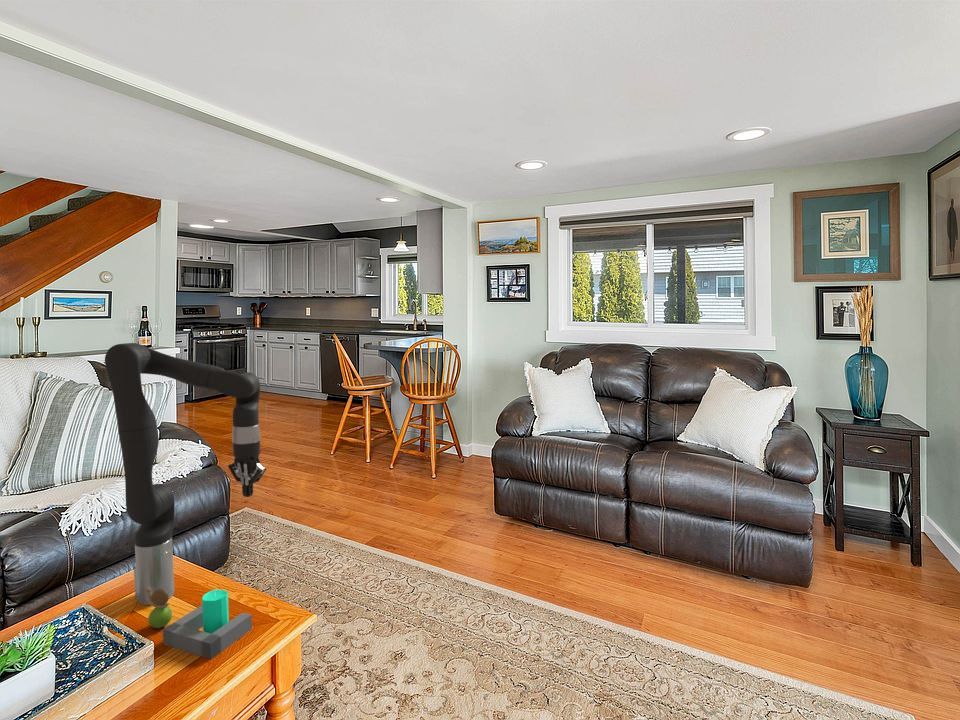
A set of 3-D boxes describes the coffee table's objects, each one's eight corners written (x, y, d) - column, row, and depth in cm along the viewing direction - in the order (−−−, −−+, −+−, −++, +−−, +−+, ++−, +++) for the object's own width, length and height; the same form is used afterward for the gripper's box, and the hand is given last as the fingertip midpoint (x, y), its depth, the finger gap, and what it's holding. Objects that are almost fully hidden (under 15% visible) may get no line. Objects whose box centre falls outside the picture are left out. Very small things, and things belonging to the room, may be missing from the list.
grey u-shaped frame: (163, 644, 130) (162, 629, 130) (206, 616, 142) (206, 602, 142) (211, 659, 125) (210, 643, 124) (251, 629, 137) (251, 614, 137)
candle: (220, 640, 132) (219, 596, 131) (198, 639, 132) (196, 594, 131) (233, 626, 138) (232, 583, 137) (212, 625, 138) (210, 582, 137)
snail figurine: (153, 619, 140) (151, 577, 139) (176, 620, 140) (175, 578, 139) (140, 632, 135) (138, 588, 134) (164, 632, 135) (162, 589, 134)
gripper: (219, 440, 152) (221, 497, 154) (254, 444, 148) (255, 503, 149) (239, 435, 159) (240, 489, 161) (273, 439, 155) (274, 495, 156)
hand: (247, 496), depth 155 cm, fingers closed
